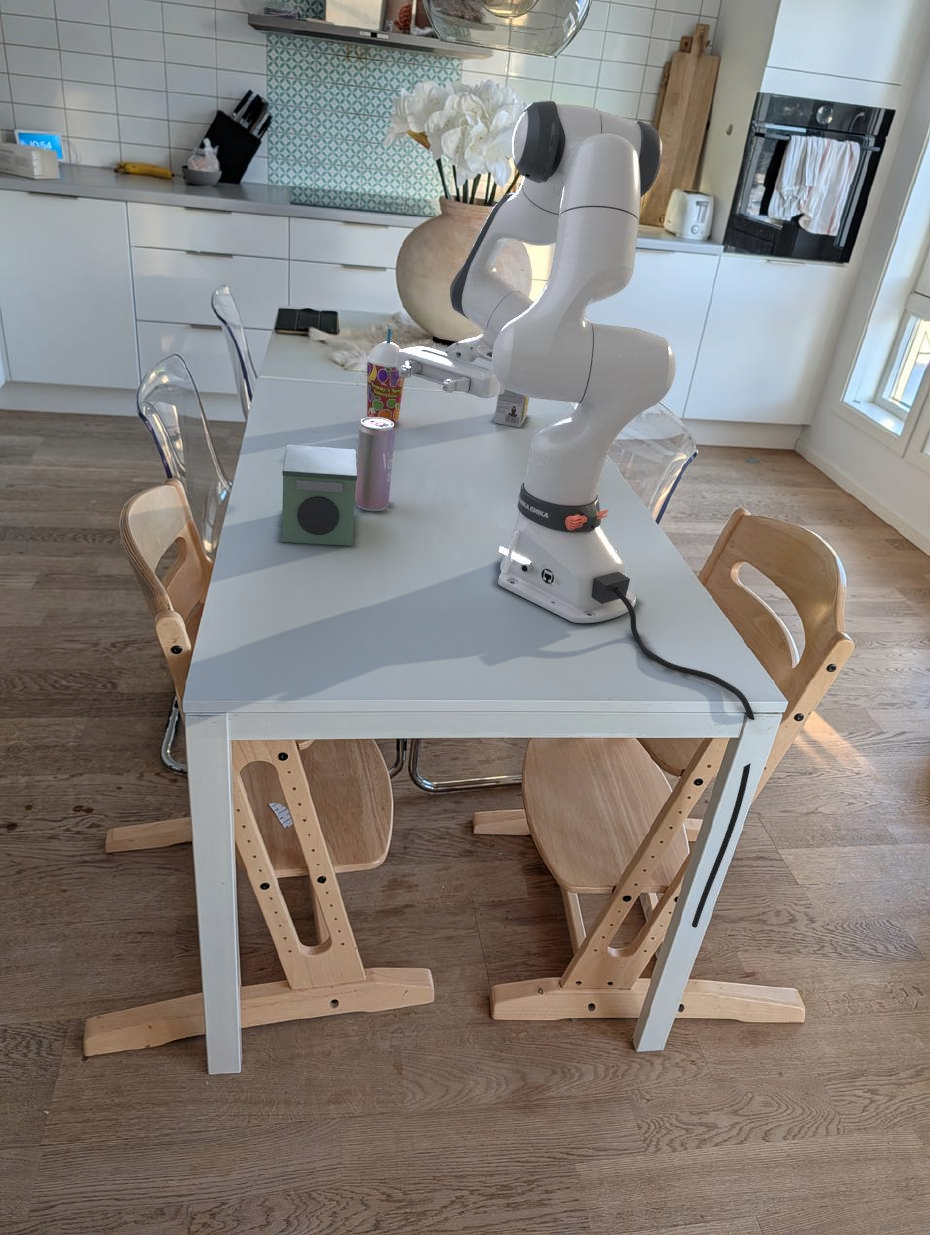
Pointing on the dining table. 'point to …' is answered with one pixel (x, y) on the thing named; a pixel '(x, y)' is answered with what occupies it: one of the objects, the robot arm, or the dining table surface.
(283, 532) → the washer stand
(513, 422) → the coffee box
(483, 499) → the dining table surface
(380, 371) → the smoothie
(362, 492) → the beverage can
